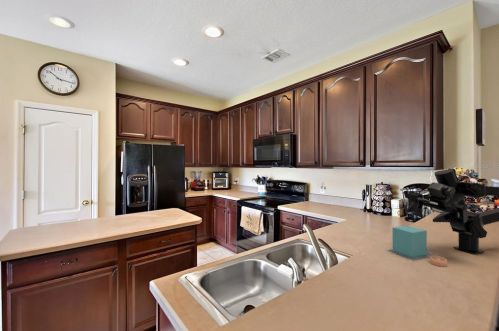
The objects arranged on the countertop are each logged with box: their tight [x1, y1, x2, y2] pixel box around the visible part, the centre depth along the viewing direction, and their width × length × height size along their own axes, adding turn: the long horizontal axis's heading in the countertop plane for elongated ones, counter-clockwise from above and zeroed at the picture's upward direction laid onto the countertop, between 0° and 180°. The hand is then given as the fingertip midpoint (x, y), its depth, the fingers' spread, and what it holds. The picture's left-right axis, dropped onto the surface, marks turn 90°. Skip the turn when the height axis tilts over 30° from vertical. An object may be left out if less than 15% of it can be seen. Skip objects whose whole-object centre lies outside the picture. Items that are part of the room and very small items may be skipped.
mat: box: [387, 248, 437, 262], centre depth 84 cm, size 12×10×1 cm
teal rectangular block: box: [392, 225, 428, 259], centre depth 83 cm, size 7×7×9 cm
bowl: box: [429, 255, 448, 268], centre depth 74 cm, size 4×4×2 cm
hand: (419, 215), depth 82 cm, fingers open, 9 cm apart
